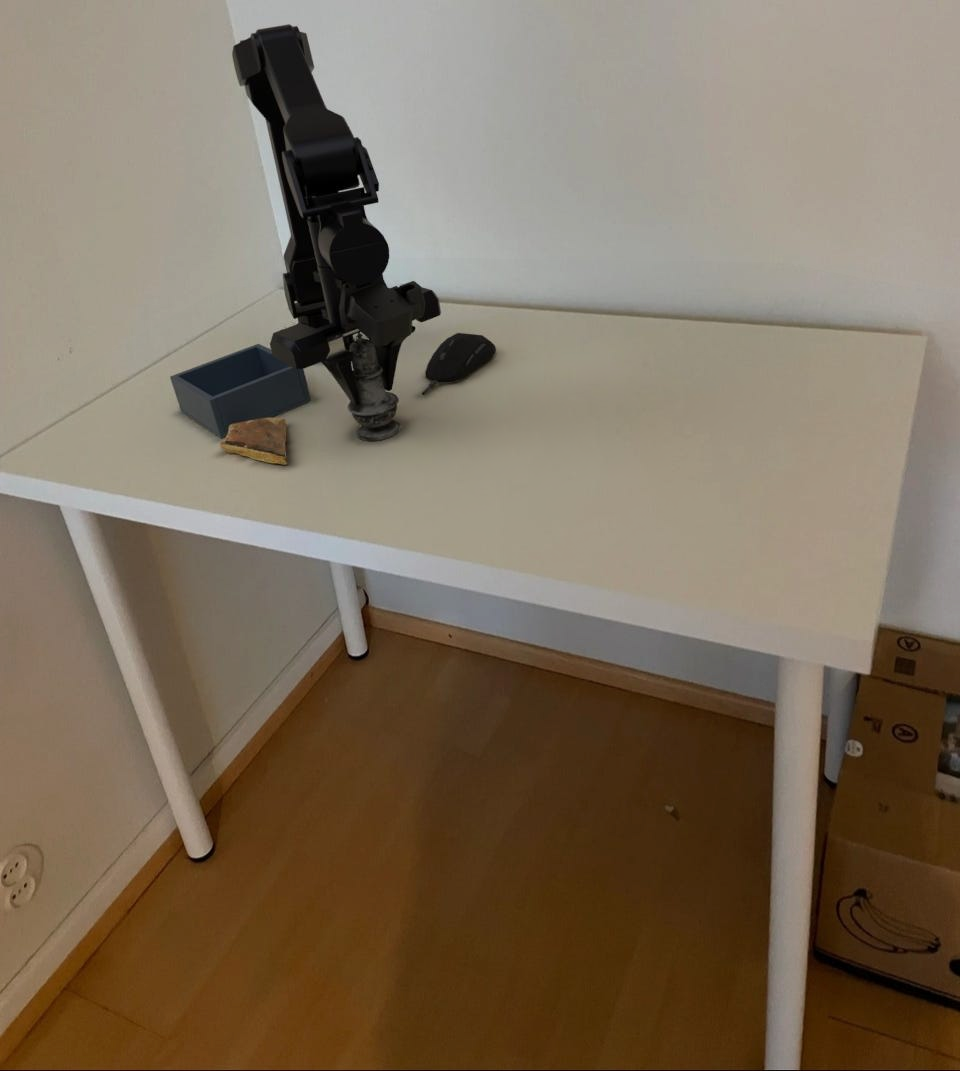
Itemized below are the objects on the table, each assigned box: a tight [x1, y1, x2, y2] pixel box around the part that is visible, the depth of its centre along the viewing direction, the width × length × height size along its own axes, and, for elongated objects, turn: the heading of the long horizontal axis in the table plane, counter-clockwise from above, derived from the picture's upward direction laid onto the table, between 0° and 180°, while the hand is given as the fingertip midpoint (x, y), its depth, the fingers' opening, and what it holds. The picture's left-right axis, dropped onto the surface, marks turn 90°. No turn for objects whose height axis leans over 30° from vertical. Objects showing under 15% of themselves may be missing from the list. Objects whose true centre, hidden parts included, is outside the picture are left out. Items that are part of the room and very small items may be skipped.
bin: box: [169, 343, 312, 439], centre depth 120 cm, size 13×12×5 cm
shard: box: [219, 417, 288, 466], centre depth 109 cm, size 11×8×2 cm
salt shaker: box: [347, 332, 402, 443], centre depth 107 cm, size 6×6×12 cm
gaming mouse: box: [421, 332, 497, 396], centre depth 121 cm, size 6×15×4 cm, turn 149°
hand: (372, 396), depth 108 cm, fingers closed on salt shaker, 4 cm apart
